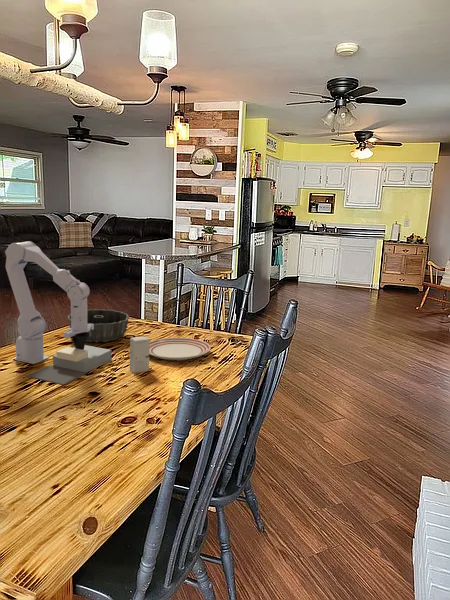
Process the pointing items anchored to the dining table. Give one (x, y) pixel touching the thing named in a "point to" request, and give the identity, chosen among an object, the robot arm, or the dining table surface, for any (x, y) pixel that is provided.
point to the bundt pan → (105, 325)
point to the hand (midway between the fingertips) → (79, 352)
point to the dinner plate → (178, 348)
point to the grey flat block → (85, 360)
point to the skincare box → (139, 354)
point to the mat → (56, 374)
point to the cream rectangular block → (72, 354)
